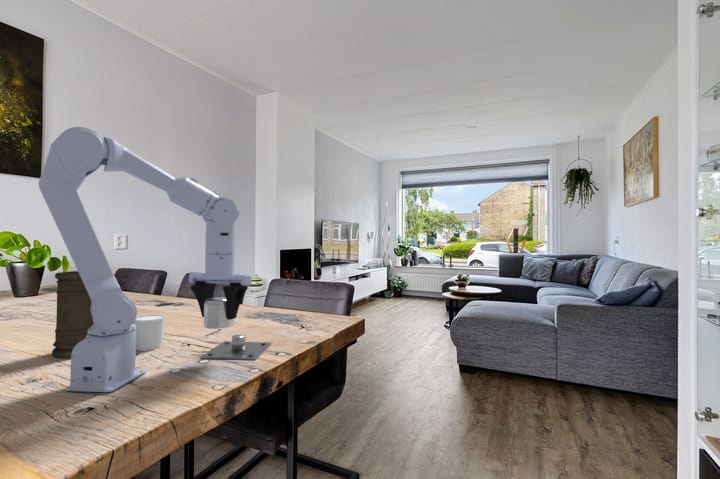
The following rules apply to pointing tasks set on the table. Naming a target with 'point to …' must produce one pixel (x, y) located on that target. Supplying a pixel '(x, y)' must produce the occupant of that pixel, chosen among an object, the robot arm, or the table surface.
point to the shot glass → (149, 332)
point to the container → (71, 313)
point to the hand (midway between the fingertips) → (219, 317)
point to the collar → (216, 313)
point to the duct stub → (237, 349)
